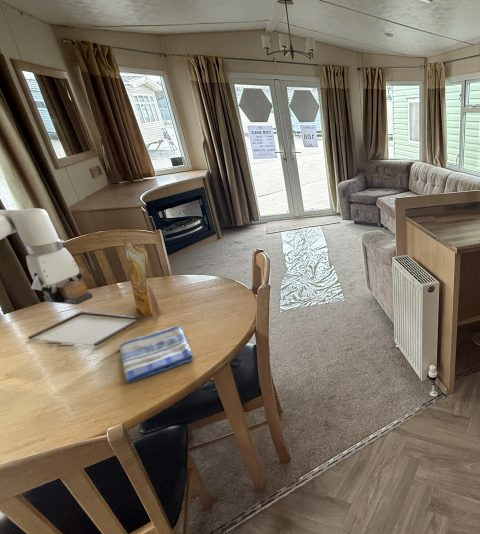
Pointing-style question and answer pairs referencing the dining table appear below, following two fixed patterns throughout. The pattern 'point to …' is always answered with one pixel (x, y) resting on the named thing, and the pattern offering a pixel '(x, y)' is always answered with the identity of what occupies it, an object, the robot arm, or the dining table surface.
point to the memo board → (86, 328)
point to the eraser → (70, 292)
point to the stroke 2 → (65, 345)
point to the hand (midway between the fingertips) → (68, 297)
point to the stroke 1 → (54, 343)
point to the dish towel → (154, 353)
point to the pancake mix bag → (140, 279)
